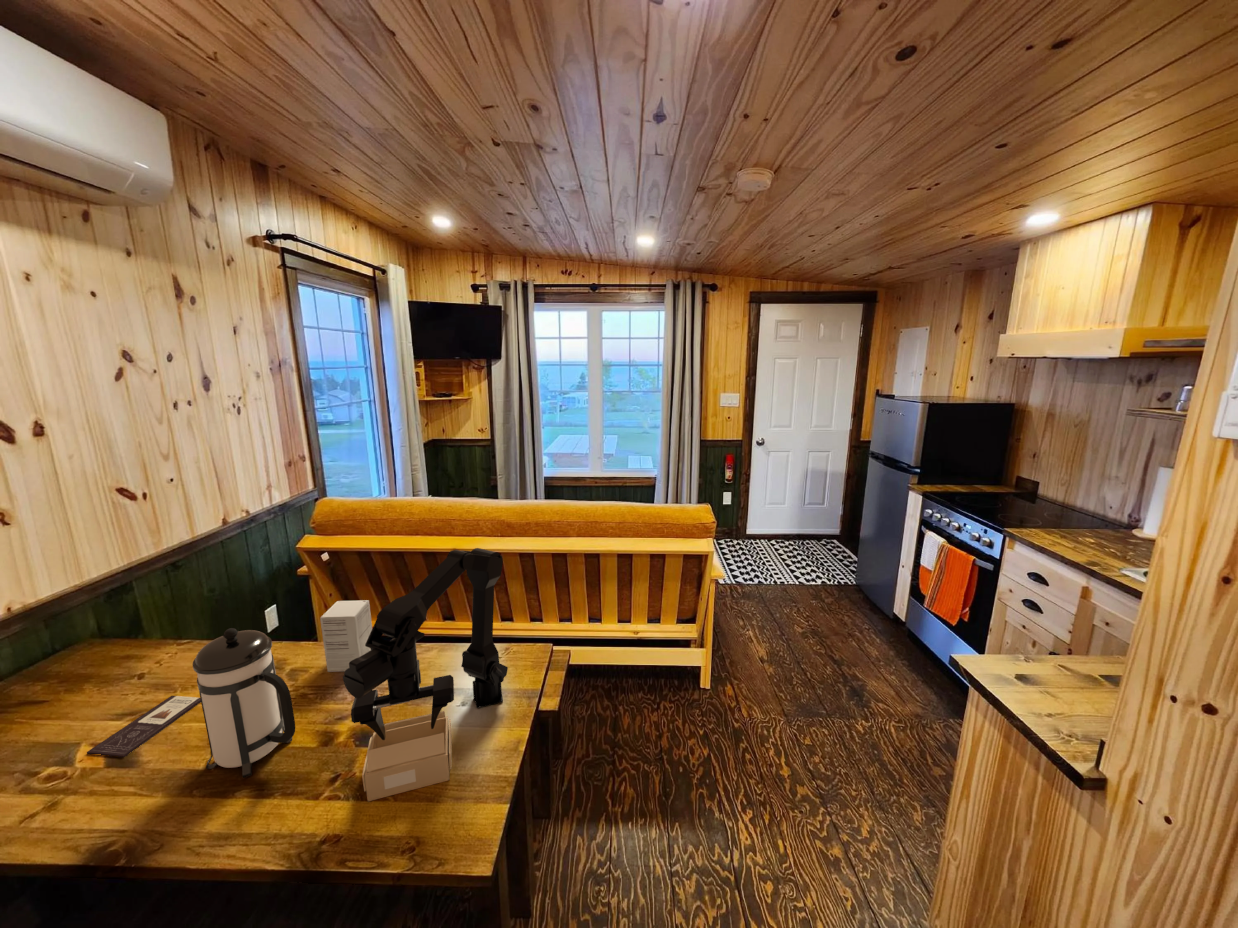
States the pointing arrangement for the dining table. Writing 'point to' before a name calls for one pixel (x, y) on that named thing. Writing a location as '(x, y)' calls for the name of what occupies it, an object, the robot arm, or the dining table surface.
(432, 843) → the dining table surface
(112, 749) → the chocolate bar
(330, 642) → the supplement box
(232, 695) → the coffee press
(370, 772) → the carton
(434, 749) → the flap camera side
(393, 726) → the tan cardboard box flap
